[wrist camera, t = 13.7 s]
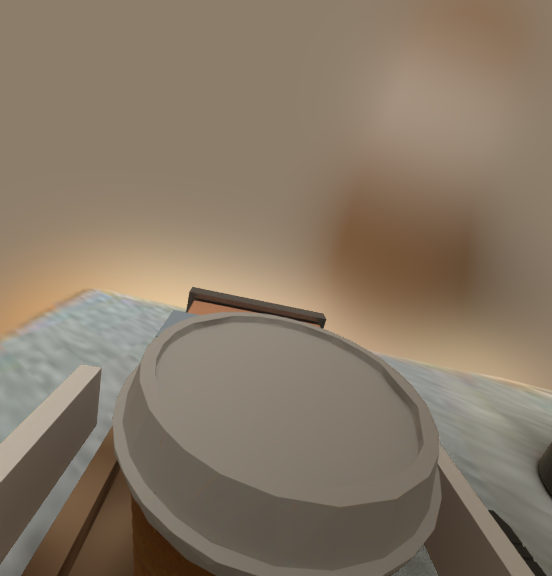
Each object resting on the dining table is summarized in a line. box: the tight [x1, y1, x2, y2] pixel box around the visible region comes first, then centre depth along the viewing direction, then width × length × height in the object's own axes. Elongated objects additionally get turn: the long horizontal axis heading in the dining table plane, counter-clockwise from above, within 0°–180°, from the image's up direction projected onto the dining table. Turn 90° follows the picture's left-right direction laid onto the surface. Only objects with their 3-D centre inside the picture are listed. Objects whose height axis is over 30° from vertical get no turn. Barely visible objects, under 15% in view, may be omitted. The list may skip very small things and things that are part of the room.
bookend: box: [186, 287, 326, 329], centre depth 26 cm, size 2×11×8 cm, turn 94°
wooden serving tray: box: [21, 426, 391, 576], centre depth 18 cm, size 22×15×3 cm
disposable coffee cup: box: [112, 312, 442, 576], centre depth 11 cm, size 10×10×12 cm
